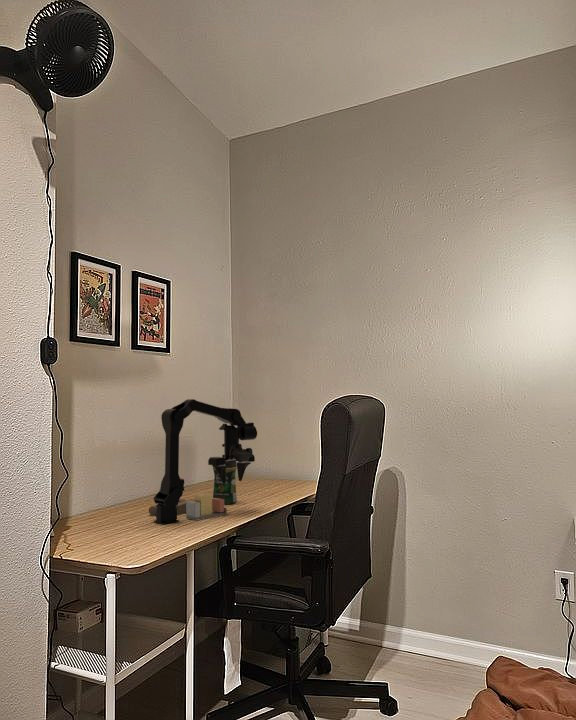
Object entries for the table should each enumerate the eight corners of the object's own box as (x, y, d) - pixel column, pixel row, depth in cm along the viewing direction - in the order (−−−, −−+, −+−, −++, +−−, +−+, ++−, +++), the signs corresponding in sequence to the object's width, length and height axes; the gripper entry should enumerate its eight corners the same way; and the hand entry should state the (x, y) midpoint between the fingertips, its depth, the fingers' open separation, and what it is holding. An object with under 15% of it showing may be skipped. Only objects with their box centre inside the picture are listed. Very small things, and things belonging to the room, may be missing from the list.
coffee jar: (209, 504, 249) (209, 458, 250) (219, 500, 256) (219, 456, 257) (230, 505, 245) (230, 459, 246) (239, 502, 252) (239, 457, 253)
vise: (195, 520, 215) (195, 503, 216) (186, 518, 220) (186, 501, 220) (226, 514, 225) (226, 498, 225) (217, 512, 229) (217, 496, 230)
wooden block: (197, 508, 238) (172, 517, 221) (173, 507, 241) (147, 515, 225) (197, 499, 238) (172, 507, 221) (173, 498, 242) (147, 505, 225)
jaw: (220, 512, 223) (219, 500, 223) (211, 510, 227) (211, 498, 227) (224, 511, 224) (224, 499, 225) (215, 509, 228) (215, 497, 229)
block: (200, 515, 218) (200, 496, 218) (194, 514, 221) (194, 495, 221) (212, 514, 221) (212, 494, 222) (205, 512, 224) (205, 493, 225)
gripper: (225, 444, 220) (225, 487, 219) (263, 440, 232) (264, 481, 232) (207, 442, 228) (207, 484, 227) (245, 439, 240) (245, 478, 240)
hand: (232, 482), depth 231 cm, fingers open, 8 cm apart
